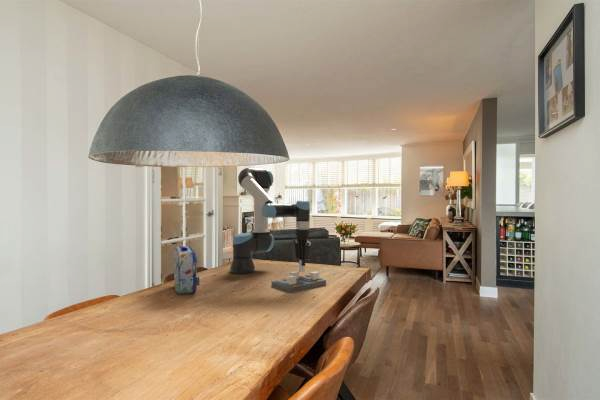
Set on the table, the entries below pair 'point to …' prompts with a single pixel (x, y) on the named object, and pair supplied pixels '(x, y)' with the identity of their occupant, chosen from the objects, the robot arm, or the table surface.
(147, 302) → the table surface
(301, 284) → the switch panel
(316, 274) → the switch
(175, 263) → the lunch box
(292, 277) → the switch
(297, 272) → the switch middle
